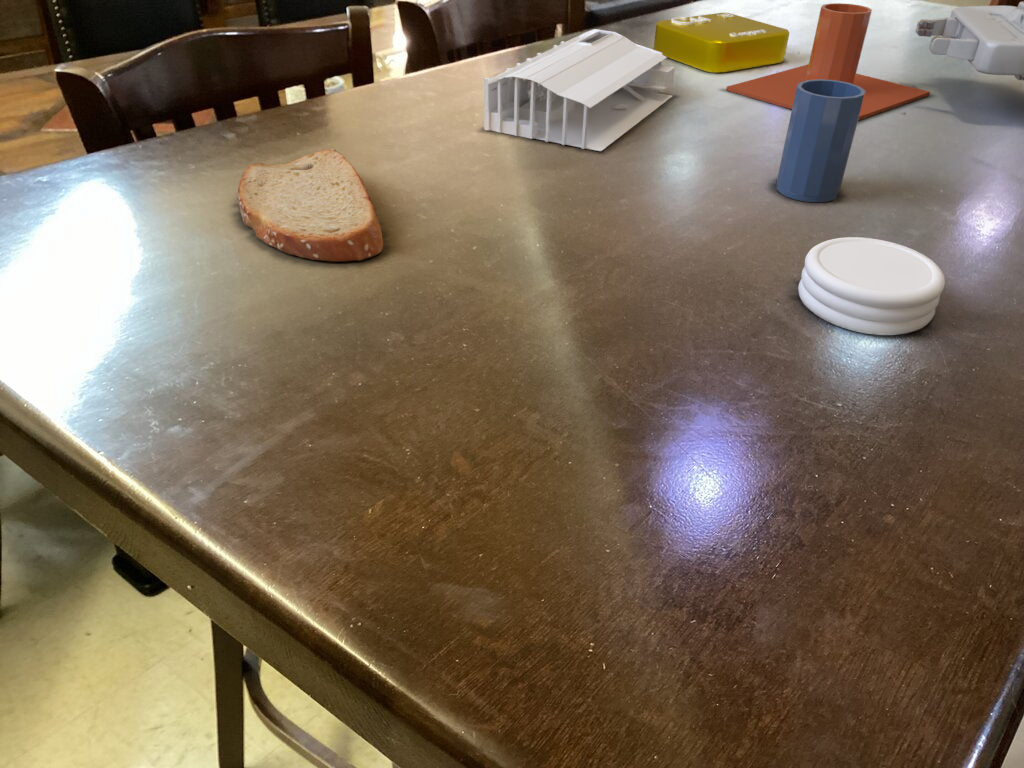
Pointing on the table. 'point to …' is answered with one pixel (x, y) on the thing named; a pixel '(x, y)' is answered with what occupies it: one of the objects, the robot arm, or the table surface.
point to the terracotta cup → (838, 42)
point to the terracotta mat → (785, 83)
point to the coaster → (870, 285)
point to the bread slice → (311, 208)
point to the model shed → (578, 91)
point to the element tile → (721, 42)
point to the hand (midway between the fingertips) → (924, 35)
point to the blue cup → (819, 139)
